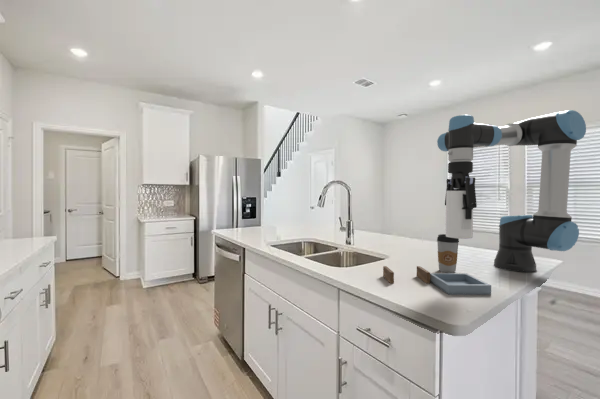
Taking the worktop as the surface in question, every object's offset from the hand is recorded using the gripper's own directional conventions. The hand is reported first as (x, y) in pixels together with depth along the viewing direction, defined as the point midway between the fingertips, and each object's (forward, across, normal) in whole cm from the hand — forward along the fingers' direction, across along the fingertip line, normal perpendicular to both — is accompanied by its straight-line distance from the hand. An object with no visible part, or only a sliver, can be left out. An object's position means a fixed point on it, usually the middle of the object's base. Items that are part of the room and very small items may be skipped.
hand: (459, 227), depth 103 cm
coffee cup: (+21, -21, +7) cm, 31 cm away
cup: (+3, 0, 0) cm, 3 cm away
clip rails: (+21, -9, -15) cm, 27 cm away
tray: (+21, 0, 0) cm, 21 cm away
